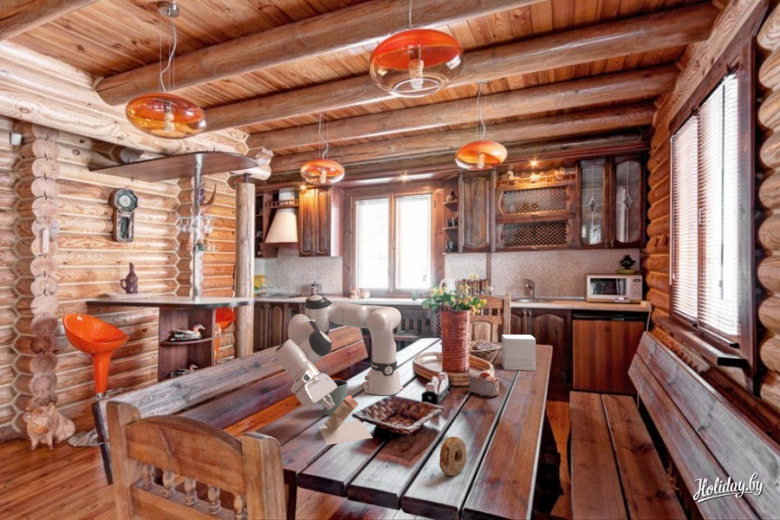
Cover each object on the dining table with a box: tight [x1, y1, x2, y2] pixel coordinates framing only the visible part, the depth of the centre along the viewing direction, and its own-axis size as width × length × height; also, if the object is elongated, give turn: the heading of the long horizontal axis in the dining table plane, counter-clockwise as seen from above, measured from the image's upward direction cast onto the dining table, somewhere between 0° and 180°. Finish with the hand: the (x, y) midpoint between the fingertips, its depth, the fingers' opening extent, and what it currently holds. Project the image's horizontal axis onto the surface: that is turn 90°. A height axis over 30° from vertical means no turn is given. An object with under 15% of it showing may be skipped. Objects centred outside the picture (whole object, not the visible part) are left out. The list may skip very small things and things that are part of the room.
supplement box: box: [501, 334, 537, 372], centre depth 236 cm, size 17×13×18 cm
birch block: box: [324, 395, 359, 433], centre depth 146 cm, size 4×4×12 cm
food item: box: [468, 371, 501, 398], centre depth 189 cm, size 14×8×10 cm, turn 52°
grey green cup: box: [323, 379, 348, 417], centre depth 165 cm, size 10×10×12 cm
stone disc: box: [439, 436, 468, 477], centre depth 118 cm, size 10×4×10 cm, turn 136°
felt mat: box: [317, 420, 373, 446], centre depth 145 cm, size 16×16×1 cm
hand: (332, 408), depth 146 cm, fingers closed
